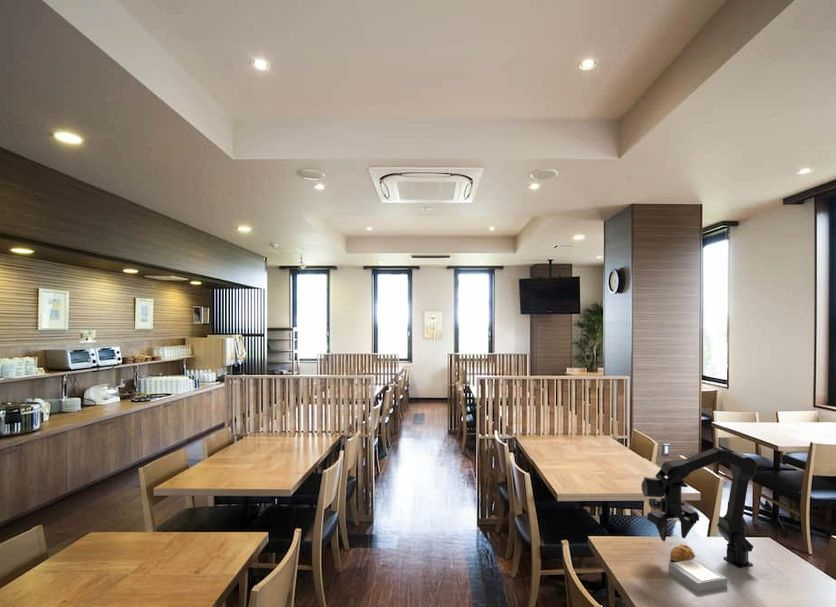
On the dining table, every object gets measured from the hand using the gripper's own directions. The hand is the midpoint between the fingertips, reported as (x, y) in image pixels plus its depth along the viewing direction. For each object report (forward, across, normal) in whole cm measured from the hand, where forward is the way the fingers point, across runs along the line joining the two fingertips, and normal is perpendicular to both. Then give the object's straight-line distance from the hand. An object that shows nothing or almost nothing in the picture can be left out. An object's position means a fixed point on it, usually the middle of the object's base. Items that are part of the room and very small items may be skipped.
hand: (673, 539), depth 164 cm
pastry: (+8, 0, 0) cm, 8 cm away
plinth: (+7, +3, +13) cm, 15 cm away
